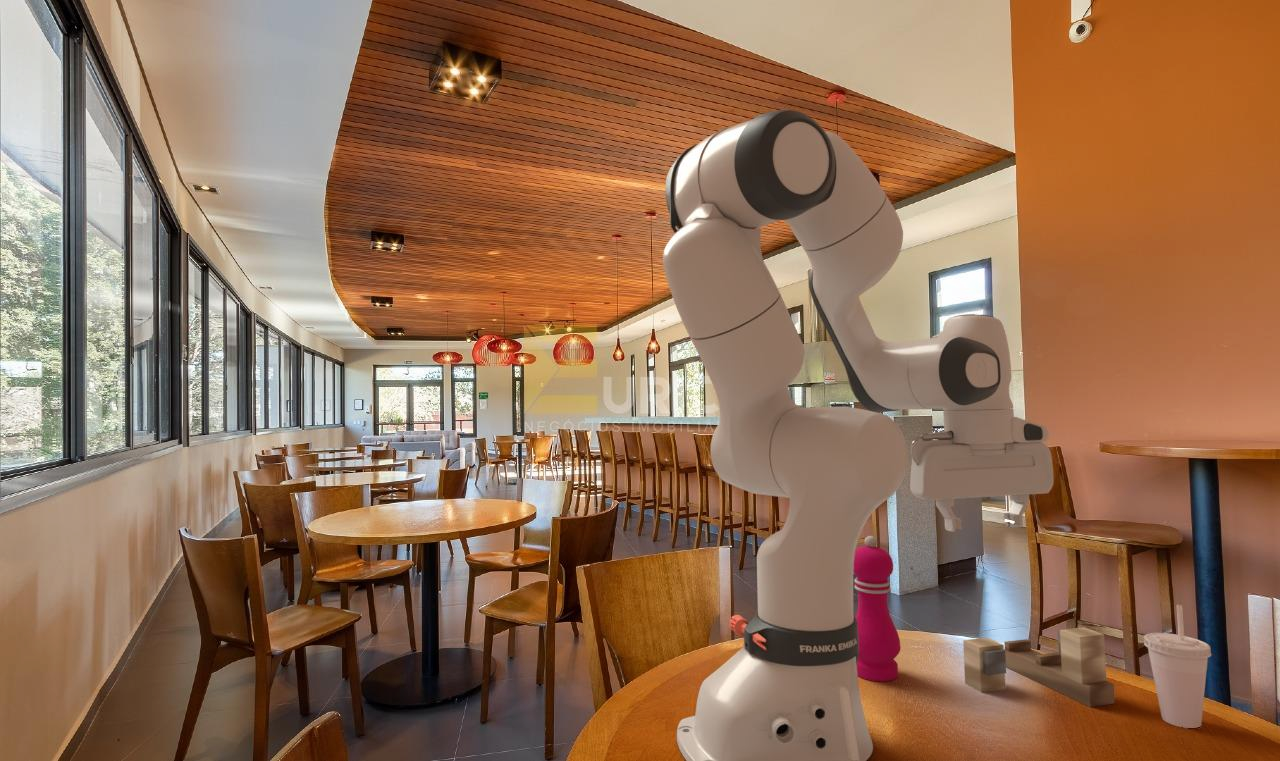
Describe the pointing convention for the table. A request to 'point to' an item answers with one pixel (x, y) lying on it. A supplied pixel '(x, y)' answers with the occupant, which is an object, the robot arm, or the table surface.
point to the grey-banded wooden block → (984, 664)
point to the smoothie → (1179, 674)
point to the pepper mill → (875, 614)
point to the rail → (1053, 674)
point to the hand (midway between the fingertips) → (983, 528)
